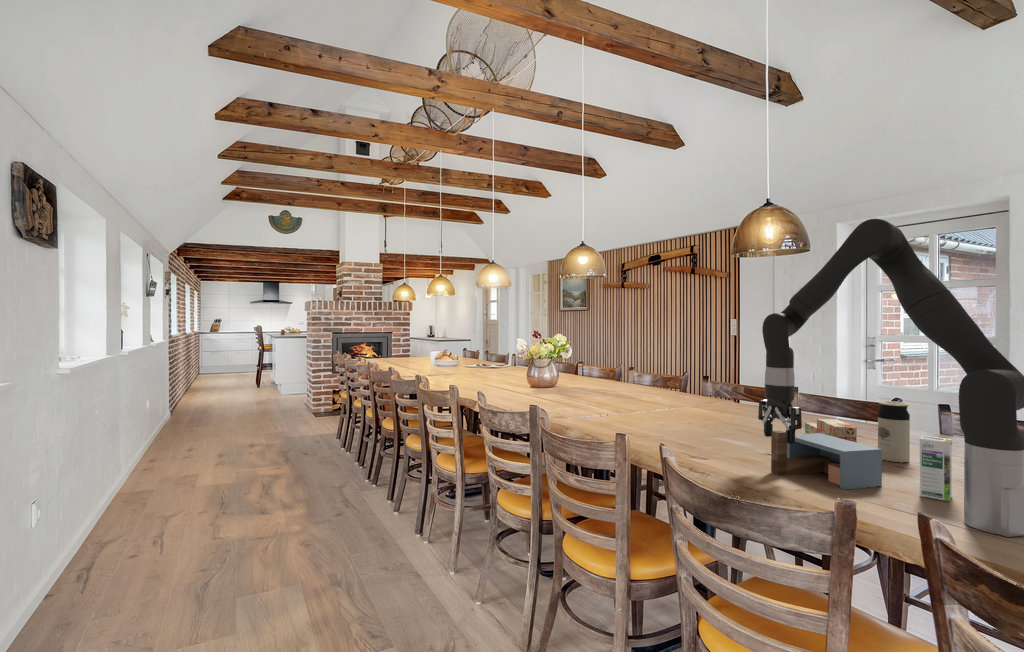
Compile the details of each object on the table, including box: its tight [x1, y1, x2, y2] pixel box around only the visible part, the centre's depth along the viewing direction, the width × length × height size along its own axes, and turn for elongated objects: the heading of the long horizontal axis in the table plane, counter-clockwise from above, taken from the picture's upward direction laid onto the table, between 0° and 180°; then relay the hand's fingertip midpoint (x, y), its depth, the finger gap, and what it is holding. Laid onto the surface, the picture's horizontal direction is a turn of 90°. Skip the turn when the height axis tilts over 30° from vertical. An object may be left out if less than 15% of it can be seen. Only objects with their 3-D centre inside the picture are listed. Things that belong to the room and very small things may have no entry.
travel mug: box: [877, 400, 911, 464], centre depth 158 cm, size 8×8×18 cm
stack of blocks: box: [804, 418, 858, 443], centre depth 161 cm, size 21×6×12 cm, turn 171°
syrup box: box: [919, 435, 953, 503], centre depth 124 cm, size 6×6×14 cm
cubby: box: [787, 433, 883, 491], centre depth 140 cm, size 20×12×10 cm, turn 12°
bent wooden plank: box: [770, 430, 840, 476], centre depth 142 cm, size 8×17×12 cm, turn 102°
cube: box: [827, 464, 840, 486], centre depth 135 cm, size 4×4×4 cm
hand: (778, 439), depth 143 cm, fingers open, 8 cm apart
